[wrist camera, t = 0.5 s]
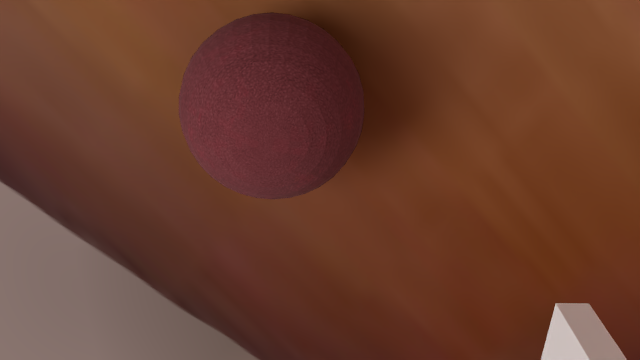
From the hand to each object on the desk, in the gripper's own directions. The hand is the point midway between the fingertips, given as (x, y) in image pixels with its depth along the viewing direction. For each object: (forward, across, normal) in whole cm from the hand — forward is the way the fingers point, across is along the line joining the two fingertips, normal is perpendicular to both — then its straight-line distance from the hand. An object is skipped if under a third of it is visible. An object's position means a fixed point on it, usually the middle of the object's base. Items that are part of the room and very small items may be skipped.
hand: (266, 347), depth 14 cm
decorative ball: (+26, -1, -2) cm, 26 cm away
